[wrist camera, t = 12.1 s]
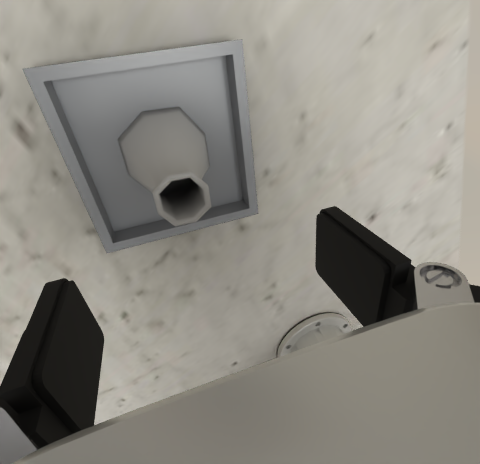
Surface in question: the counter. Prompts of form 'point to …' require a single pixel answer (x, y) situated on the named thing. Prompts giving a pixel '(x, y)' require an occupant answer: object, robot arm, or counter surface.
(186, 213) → the flask
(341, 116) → the counter surface
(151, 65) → the tray
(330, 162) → the counter surface
